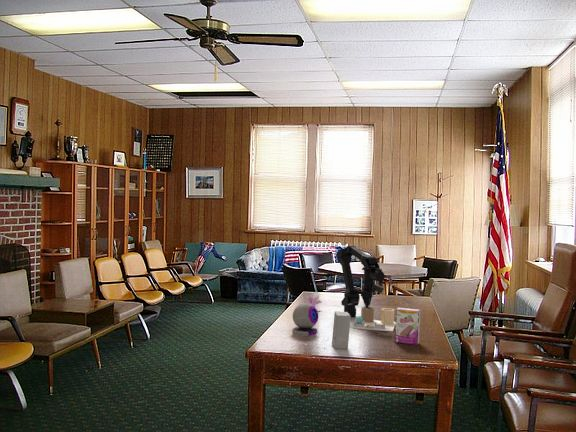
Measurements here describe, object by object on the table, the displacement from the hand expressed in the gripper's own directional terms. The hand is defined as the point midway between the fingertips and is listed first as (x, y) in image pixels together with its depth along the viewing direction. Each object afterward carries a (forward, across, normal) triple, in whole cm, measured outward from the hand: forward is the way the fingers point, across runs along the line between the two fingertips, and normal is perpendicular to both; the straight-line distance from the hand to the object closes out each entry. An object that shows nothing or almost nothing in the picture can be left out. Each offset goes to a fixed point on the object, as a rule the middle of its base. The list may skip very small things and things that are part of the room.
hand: (367, 306), depth 329 cm
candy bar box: (+9, -40, -24) cm, 47 cm away
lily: (+9, +20, +36) cm, 42 cm away
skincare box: (+9, -58, +5) cm, 59 cm away
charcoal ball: (+2, -1, 0) cm, 2 cm away
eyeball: (+9, -38, +27) cm, 47 cm away
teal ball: (+4, -15, +2) cm, 16 cm away
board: (+8, -7, -5) cm, 12 cm away
